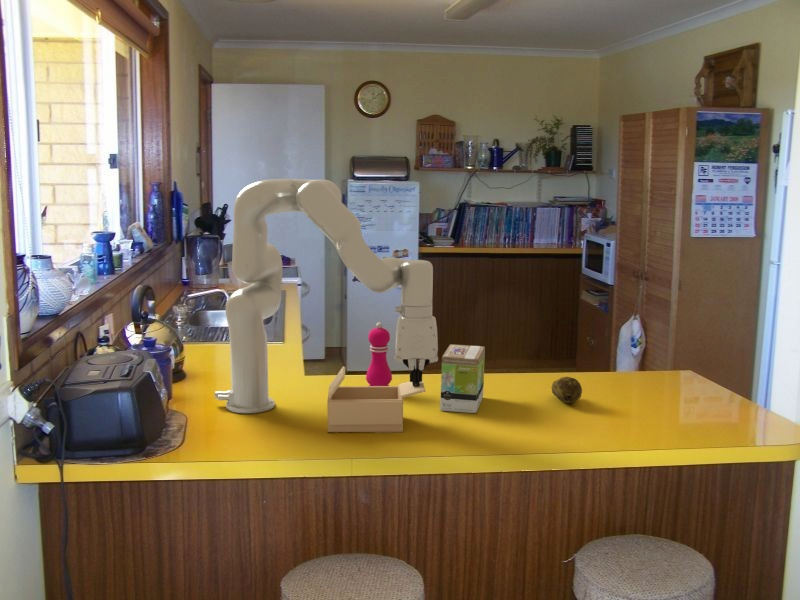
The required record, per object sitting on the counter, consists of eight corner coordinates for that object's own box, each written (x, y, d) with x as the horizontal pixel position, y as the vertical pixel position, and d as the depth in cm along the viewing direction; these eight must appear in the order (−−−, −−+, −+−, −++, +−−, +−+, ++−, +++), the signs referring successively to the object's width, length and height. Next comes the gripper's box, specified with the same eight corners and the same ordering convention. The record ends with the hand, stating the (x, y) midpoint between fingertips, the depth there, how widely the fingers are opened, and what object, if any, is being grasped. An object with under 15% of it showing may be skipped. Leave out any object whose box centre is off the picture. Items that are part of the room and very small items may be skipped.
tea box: (477, 414, 217) (479, 358, 214) (439, 411, 219) (440, 356, 216) (484, 397, 232) (485, 344, 229) (447, 395, 234) (448, 342, 231)
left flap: (331, 386, 211) (345, 367, 211) (330, 398, 202) (344, 378, 201) (329, 385, 211) (343, 365, 211) (328, 396, 201) (342, 376, 201)
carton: (327, 433, 201) (327, 401, 200) (329, 416, 214) (329, 385, 213) (402, 433, 202) (403, 400, 201) (400, 415, 215) (400, 385, 214)
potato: (582, 397, 232) (583, 369, 230) (580, 411, 220) (582, 381, 218) (551, 395, 234) (552, 367, 232) (548, 409, 221) (549, 379, 220)
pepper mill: (388, 397, 231) (389, 325, 227) (363, 395, 232) (363, 324, 229) (394, 389, 238) (394, 320, 234) (369, 388, 239) (369, 319, 236)
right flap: (400, 395, 202) (425, 389, 202) (399, 384, 212) (422, 377, 212) (401, 398, 202) (425, 391, 202) (399, 386, 212) (422, 380, 212)
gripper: (386, 314, 200) (385, 389, 203) (449, 314, 200) (447, 389, 204) (385, 308, 207) (384, 380, 210) (446, 308, 208) (444, 380, 211)
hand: (415, 384), depth 207 cm, fingers closed
